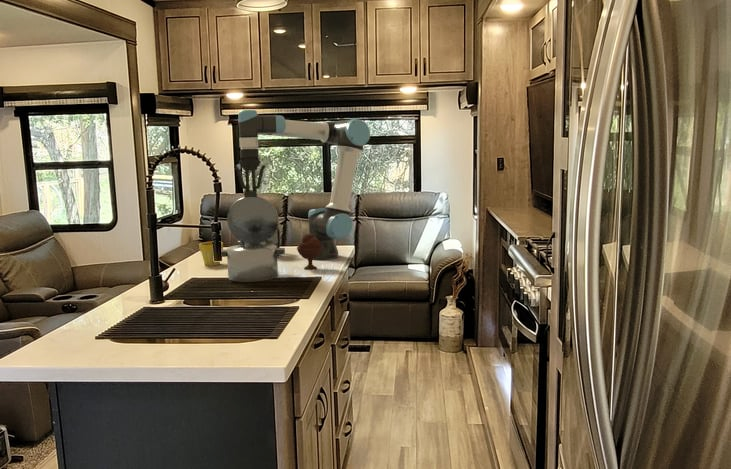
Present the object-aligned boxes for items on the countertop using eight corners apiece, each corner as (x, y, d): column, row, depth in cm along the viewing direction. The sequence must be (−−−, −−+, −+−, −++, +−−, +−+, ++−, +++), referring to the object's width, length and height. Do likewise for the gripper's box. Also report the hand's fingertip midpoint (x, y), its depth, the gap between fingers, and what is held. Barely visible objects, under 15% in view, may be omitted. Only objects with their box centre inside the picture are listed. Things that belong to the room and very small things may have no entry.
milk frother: (277, 257, 292) (276, 226, 290) (244, 258, 292) (242, 227, 290) (282, 252, 306) (281, 223, 304) (251, 253, 307) (249, 223, 304)
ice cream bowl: (293, 270, 260) (291, 235, 258) (305, 265, 270) (304, 231, 268) (315, 271, 256) (314, 236, 254) (327, 266, 266) (326, 232, 264)
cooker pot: (286, 270, 261) (285, 242, 259) (283, 280, 241) (282, 250, 240) (225, 272, 260) (223, 244, 258) (216, 283, 240) (215, 252, 238)
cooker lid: (279, 244, 260) (280, 240, 263) (276, 191, 250) (276, 188, 254) (229, 245, 259) (230, 242, 262) (224, 192, 249) (225, 189, 252)
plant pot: (220, 266, 274) (219, 244, 272) (197, 266, 274) (196, 245, 273) (226, 262, 284) (225, 241, 283) (204, 262, 284) (202, 241, 283)
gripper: (266, 148, 256) (268, 204, 259) (234, 148, 255) (237, 205, 259) (264, 148, 249) (266, 206, 252) (231, 148, 248) (234, 206, 251)
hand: (251, 205), depth 255 cm, fingers closed
